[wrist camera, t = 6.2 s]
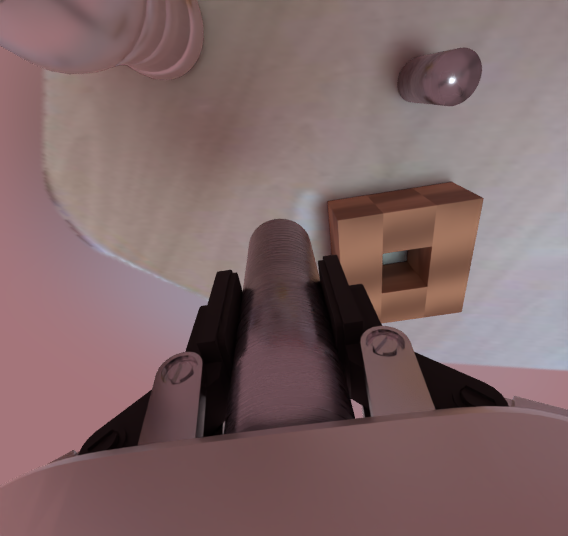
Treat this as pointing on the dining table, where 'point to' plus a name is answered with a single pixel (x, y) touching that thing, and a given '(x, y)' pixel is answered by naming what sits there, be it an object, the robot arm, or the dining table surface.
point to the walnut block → (408, 247)
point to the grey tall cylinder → (284, 339)
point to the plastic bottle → (104, 35)
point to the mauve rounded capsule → (440, 77)
